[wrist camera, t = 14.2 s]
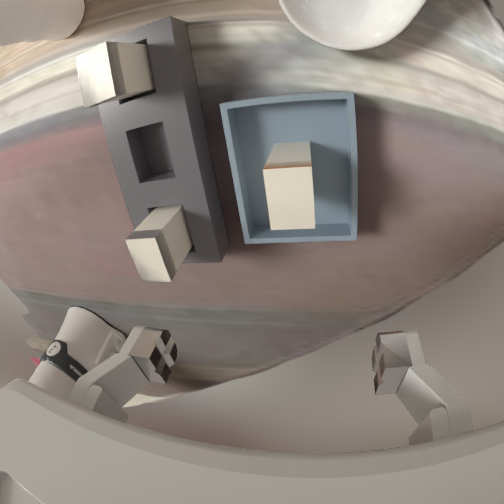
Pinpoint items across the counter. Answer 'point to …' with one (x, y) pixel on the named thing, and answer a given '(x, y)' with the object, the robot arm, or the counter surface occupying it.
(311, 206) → the orange cap fuse
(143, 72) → the block
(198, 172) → the fuse strip
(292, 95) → the tray
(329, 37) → the spoon rest
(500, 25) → the counter surface
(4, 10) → the water bottle
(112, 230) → the counter surface
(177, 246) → the block
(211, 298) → the counter surface
